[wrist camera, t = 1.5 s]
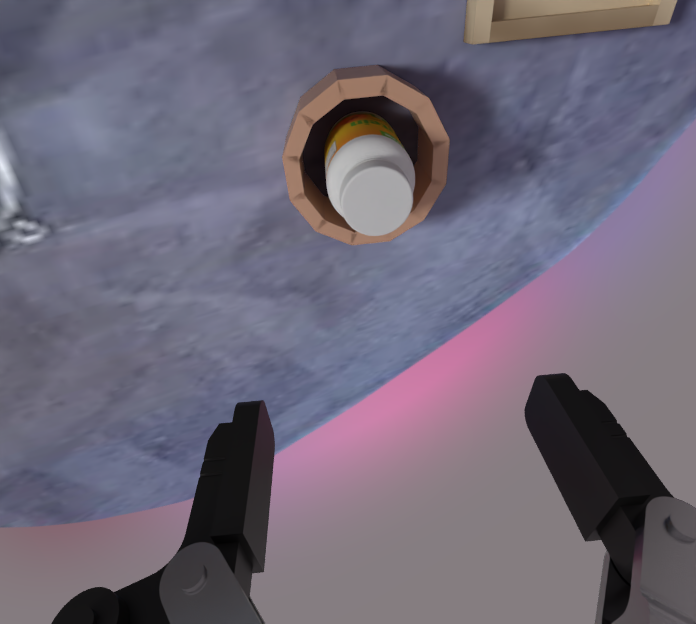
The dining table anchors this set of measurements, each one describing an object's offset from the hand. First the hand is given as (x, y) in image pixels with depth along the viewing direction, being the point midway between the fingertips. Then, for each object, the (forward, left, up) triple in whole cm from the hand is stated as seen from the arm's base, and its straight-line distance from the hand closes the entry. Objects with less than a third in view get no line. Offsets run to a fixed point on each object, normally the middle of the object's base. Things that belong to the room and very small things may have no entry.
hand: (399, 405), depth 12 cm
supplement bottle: (-1, +1, -23) cm, 23 cm away
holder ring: (-1, +1, -23) cm, 23 cm away
